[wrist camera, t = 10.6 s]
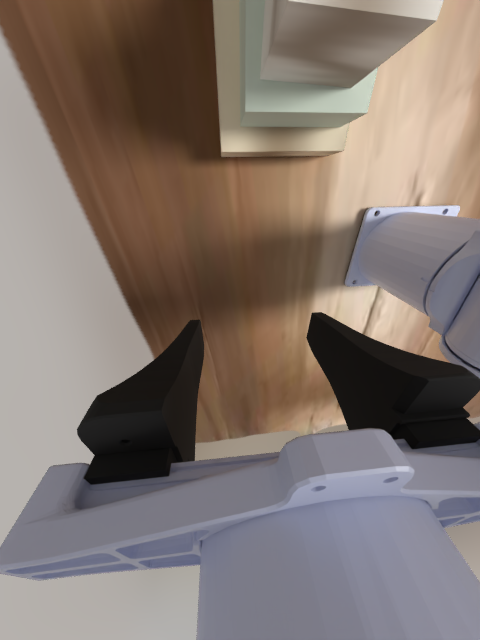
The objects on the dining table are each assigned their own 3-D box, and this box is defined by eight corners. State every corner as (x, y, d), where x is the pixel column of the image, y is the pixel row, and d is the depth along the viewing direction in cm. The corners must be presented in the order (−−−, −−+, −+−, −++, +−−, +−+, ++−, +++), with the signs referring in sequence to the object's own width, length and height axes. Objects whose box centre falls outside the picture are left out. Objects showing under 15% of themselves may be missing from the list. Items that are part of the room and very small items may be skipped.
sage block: (377, -65, 10) (430, -150, 7) (340, 127, 14) (367, 113, 11) (238, -75, 9) (245, -171, 7) (240, 126, 13) (245, 111, 11)
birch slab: (357, -34, 12) (394, -93, 10) (325, 156, 17) (343, 150, 14) (209, -42, 11) (207, -107, 9) (221, 157, 16) (221, 151, 14)
